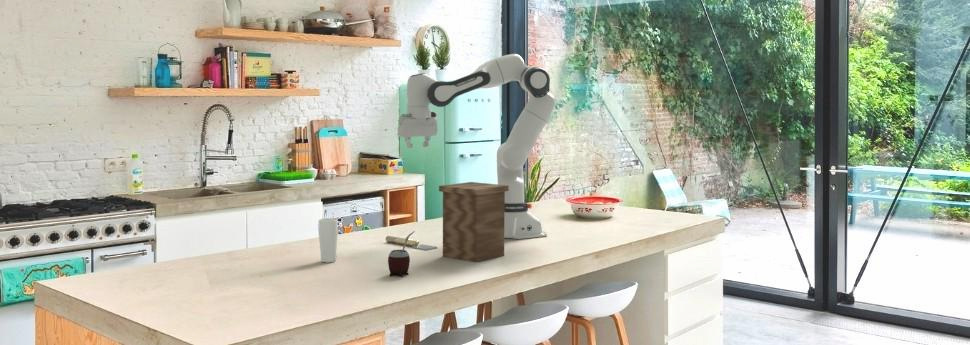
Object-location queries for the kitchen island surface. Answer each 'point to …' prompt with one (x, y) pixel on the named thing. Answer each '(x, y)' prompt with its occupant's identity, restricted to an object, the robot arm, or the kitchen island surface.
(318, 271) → the kitchen island surface
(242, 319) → the kitchen island surface
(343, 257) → the kitchen island surface
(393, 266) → the mate gourd
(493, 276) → the kitchen island surface
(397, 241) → the brass handle with plate
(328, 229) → the drinking glass
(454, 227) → the lidded wooden box
